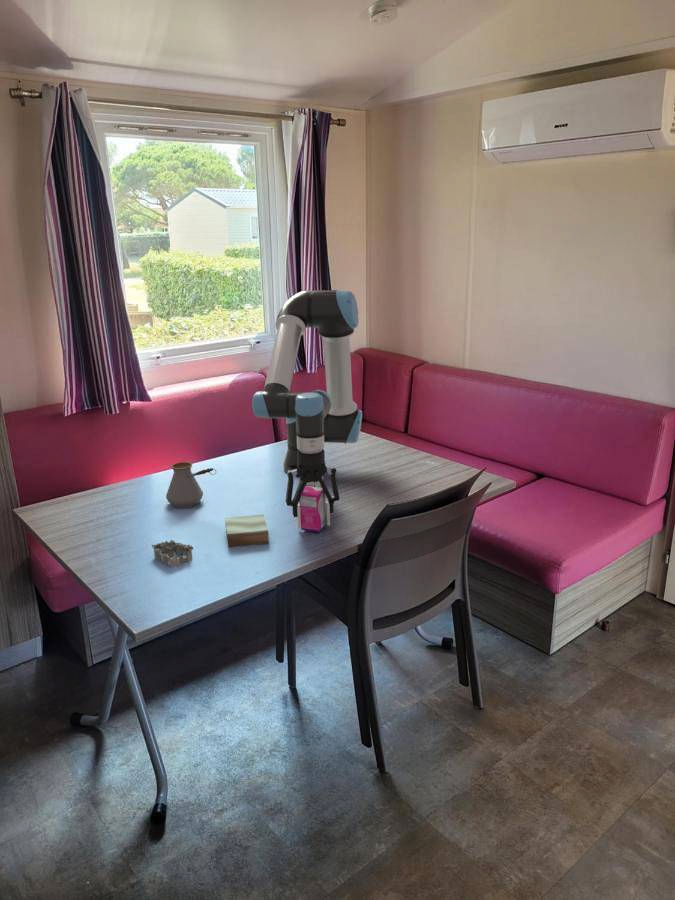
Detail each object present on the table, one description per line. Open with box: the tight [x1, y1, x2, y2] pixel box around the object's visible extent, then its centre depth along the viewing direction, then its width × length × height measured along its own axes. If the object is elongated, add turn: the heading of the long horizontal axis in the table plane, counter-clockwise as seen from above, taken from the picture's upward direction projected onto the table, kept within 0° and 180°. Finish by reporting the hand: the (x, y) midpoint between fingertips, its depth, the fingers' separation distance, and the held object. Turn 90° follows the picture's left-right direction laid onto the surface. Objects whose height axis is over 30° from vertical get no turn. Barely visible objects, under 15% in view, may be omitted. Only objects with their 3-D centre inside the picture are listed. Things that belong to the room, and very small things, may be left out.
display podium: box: [224, 514, 269, 548], centre depth 186 cm, size 11×11×4 cm
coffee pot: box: [165, 461, 217, 509], centre depth 206 cm, size 21×12×15 cm, turn 50°
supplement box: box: [298, 486, 327, 533], centre depth 189 cm, size 6×6×12 cm
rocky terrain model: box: [151, 539, 194, 568], centre depth 175 cm, size 11×8×4 cm
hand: (313, 524), depth 190 cm, fingers closed on supplement box, 8 cm apart
